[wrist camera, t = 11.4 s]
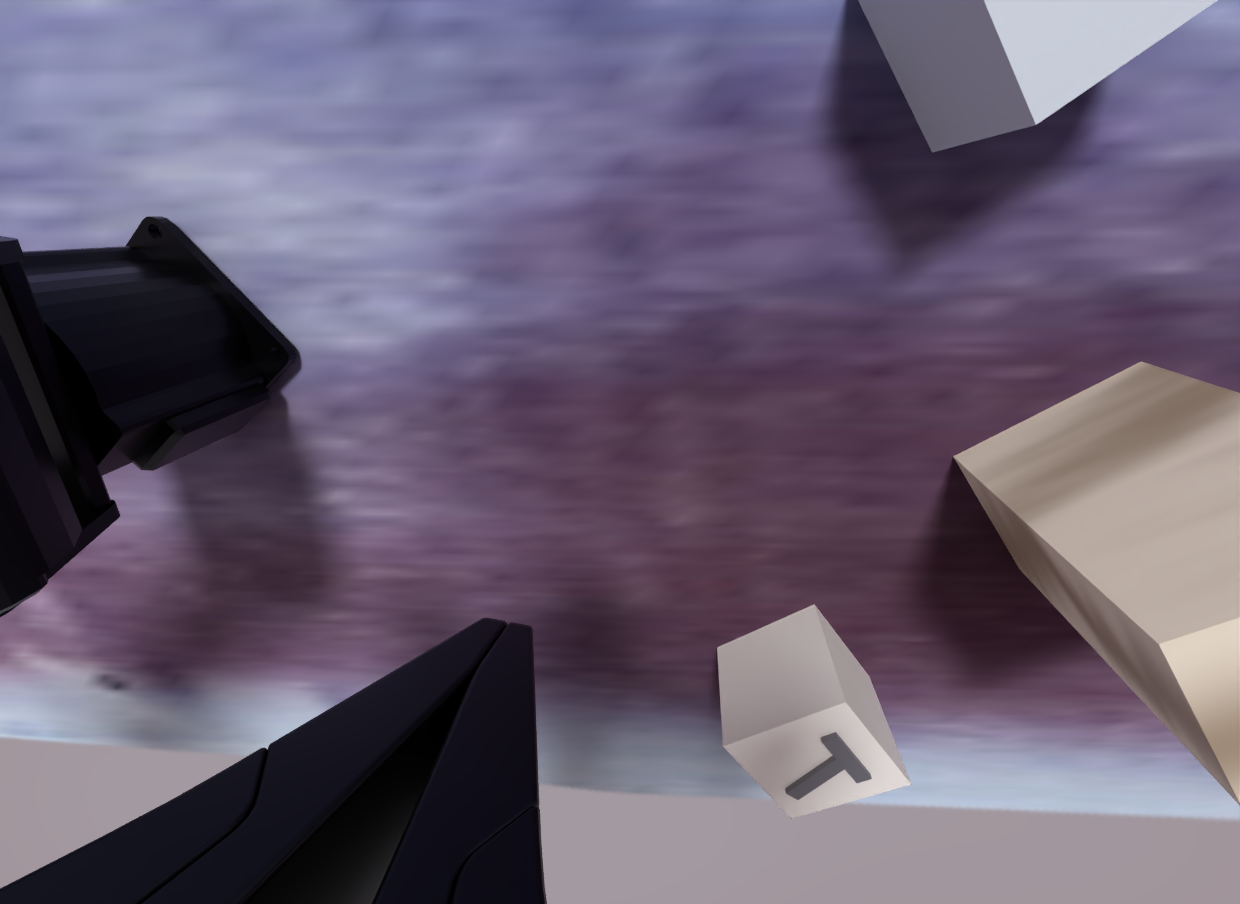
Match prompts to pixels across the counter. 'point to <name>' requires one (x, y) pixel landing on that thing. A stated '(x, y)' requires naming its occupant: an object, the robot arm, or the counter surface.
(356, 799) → the robot arm
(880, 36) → the white letter cube
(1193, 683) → the birch block
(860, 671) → the white letter block
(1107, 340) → the counter surface
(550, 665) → the counter surface
